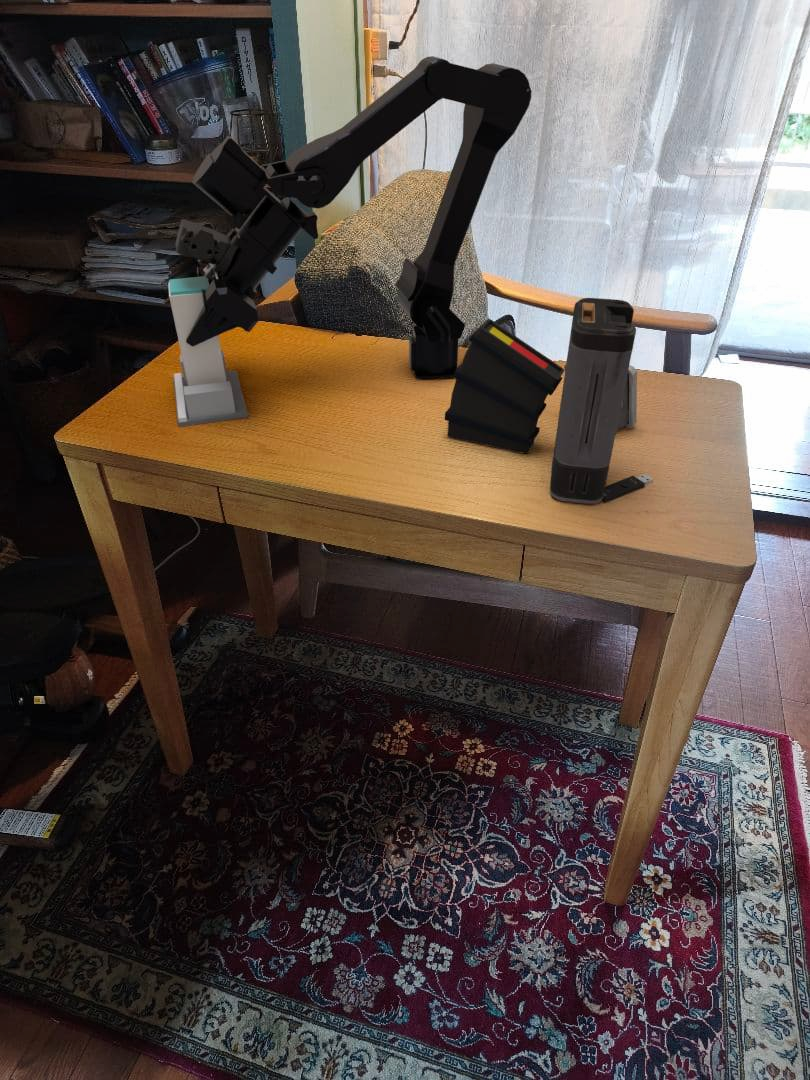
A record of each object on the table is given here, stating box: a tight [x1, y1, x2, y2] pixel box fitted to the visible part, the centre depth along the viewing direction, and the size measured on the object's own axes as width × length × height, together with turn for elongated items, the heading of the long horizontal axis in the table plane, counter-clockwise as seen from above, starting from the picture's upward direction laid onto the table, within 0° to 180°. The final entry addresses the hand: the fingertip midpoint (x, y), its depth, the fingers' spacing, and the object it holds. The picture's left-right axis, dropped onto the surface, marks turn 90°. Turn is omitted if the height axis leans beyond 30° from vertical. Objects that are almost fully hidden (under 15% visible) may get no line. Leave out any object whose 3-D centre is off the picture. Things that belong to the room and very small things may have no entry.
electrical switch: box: [563, 364, 638, 432], centre depth 94 cm, size 9×5×9 cm, turn 38°
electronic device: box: [549, 297, 637, 505], centre depth 79 cm, size 9×6×20 cm, turn 168°
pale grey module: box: [167, 276, 226, 386], centre depth 96 cm, size 5×5×13 cm
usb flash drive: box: [600, 473, 654, 504], centre depth 84 cm, size 8×2×1 cm, turn 121°
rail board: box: [173, 349, 249, 428], centre depth 100 cm, size 9×14×4 cm, turn 16°
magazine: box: [444, 318, 565, 454], centre depth 89 cm, size 4×13×15 cm, turn 66°
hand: (187, 336), depth 96 cm, fingers closed on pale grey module, 5 cm apart
